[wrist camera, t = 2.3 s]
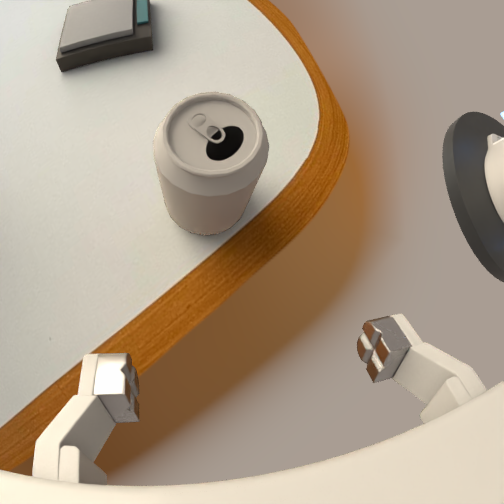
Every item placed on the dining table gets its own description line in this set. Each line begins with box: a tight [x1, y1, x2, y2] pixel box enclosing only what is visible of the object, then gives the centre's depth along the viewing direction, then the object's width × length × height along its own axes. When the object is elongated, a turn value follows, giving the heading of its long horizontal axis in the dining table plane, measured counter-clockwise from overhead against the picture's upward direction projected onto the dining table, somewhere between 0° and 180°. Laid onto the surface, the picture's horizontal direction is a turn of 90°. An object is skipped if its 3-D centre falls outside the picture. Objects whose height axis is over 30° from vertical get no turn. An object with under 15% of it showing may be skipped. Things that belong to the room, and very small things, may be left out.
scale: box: [56, 0, 153, 72], centre depth 30 cm, size 12×12×4 cm
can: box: [153, 92, 269, 235], centre depth 24 cm, size 8×8×12 cm
